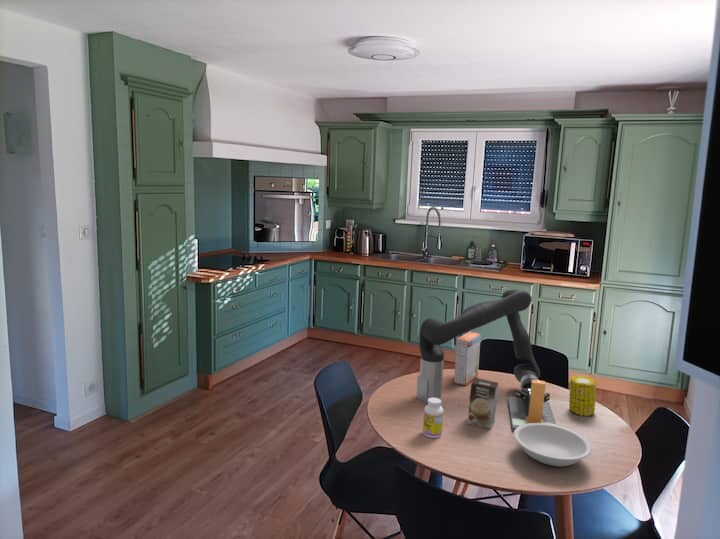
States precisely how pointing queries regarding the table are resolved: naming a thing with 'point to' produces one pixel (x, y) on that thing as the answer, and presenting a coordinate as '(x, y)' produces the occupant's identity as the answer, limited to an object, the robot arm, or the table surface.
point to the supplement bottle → (433, 418)
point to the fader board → (526, 412)
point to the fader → (536, 402)
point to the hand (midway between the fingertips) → (535, 404)
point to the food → (582, 395)
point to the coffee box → (482, 403)
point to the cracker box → (467, 358)
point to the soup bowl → (552, 443)
